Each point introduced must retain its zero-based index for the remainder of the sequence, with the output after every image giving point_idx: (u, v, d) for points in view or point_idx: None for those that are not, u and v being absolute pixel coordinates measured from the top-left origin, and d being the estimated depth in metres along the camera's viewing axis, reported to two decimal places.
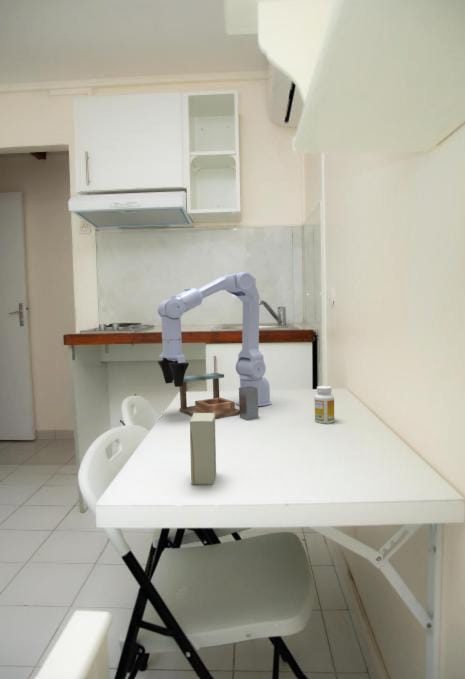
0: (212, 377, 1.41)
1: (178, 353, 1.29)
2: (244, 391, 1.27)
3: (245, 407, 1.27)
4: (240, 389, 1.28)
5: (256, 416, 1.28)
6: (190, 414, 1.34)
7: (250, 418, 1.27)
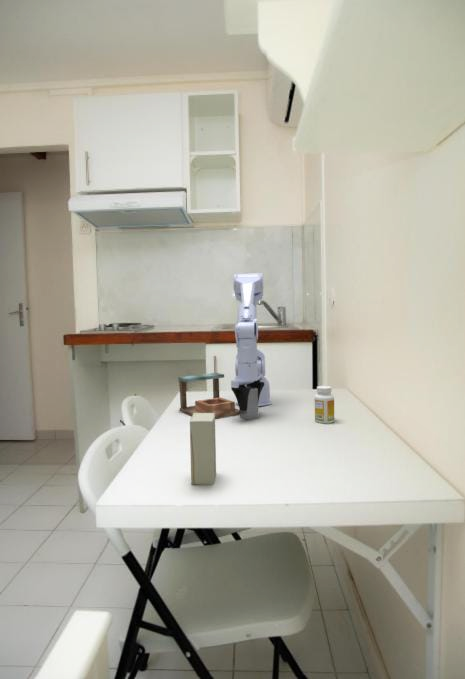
0: (212, 377, 1.41)
1: (245, 377, 1.26)
2: None
3: None
4: None
5: (256, 416, 1.28)
6: (190, 414, 1.34)
7: (250, 418, 1.27)
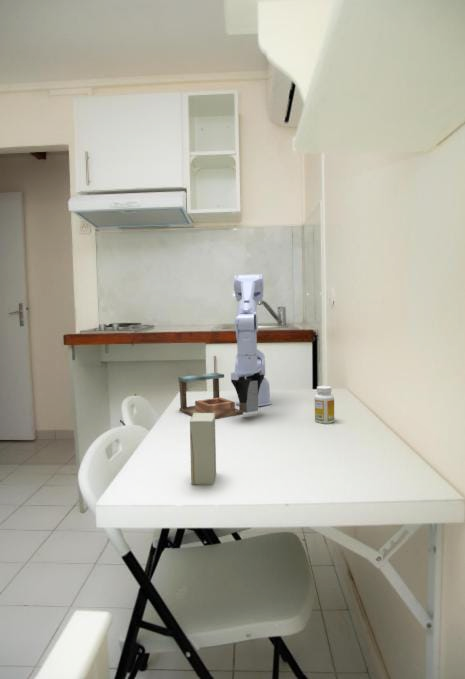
0: (212, 377, 1.41)
1: (244, 369, 1.25)
2: None
3: None
4: None
5: (256, 409, 1.28)
6: (190, 414, 1.34)
7: (250, 410, 1.27)
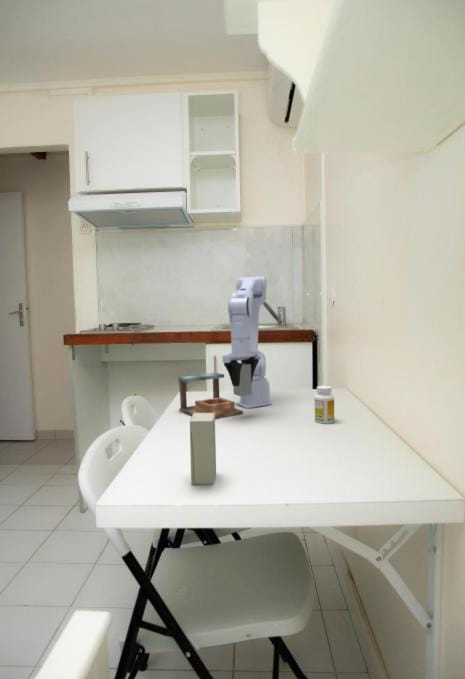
0: (212, 377, 1.41)
1: (237, 353, 1.26)
2: None
3: None
4: None
5: (249, 392, 1.28)
6: (190, 414, 1.34)
7: (243, 394, 1.27)
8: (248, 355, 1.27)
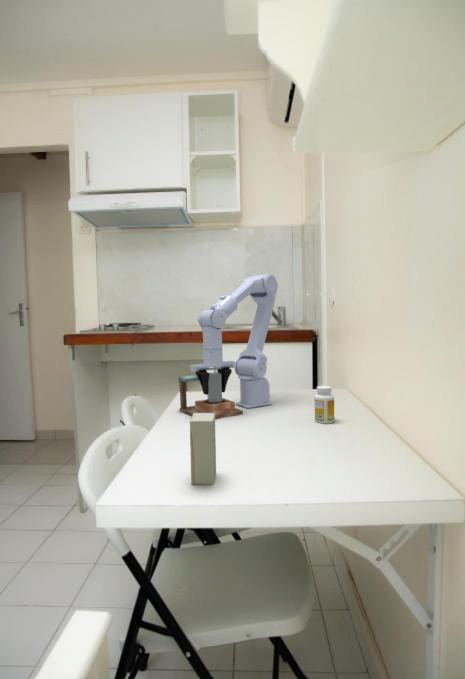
0: None
1: (206, 363, 1.32)
2: None
3: None
4: None
5: (220, 401, 1.33)
6: (190, 414, 1.34)
7: (213, 402, 1.32)
8: (216, 365, 1.31)
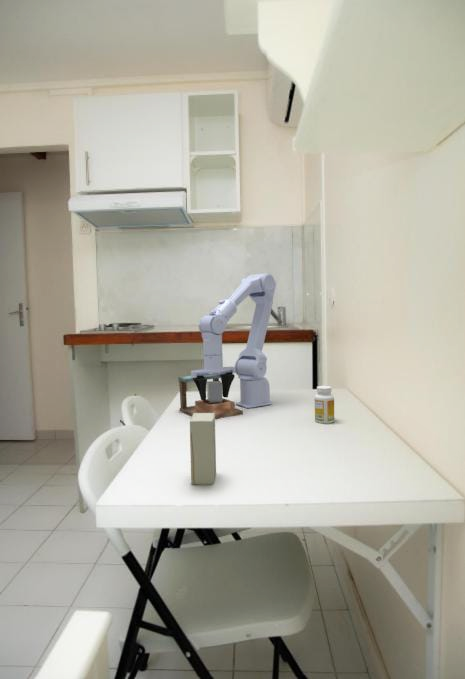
0: (212, 377, 1.41)
1: (206, 368, 1.32)
2: (208, 385, 1.32)
3: (209, 401, 1.32)
4: (207, 383, 1.35)
5: None
6: (190, 414, 1.34)
7: None
8: (217, 371, 1.31)
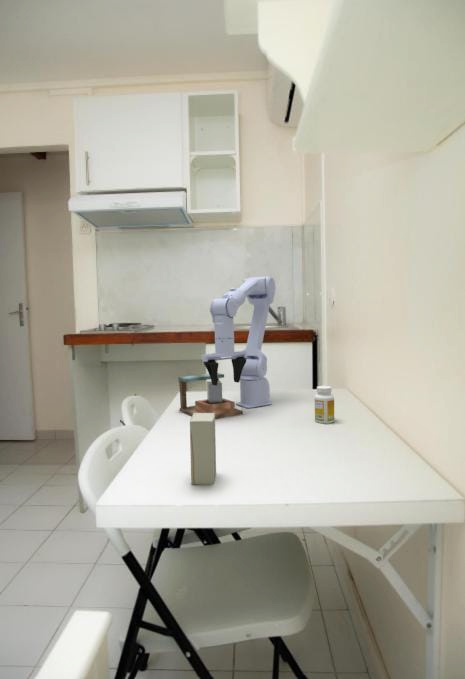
0: None
1: (218, 352, 1.29)
2: (208, 385, 1.32)
3: (209, 401, 1.32)
4: (207, 383, 1.35)
5: None
6: (190, 414, 1.34)
7: None
8: (228, 355, 1.28)
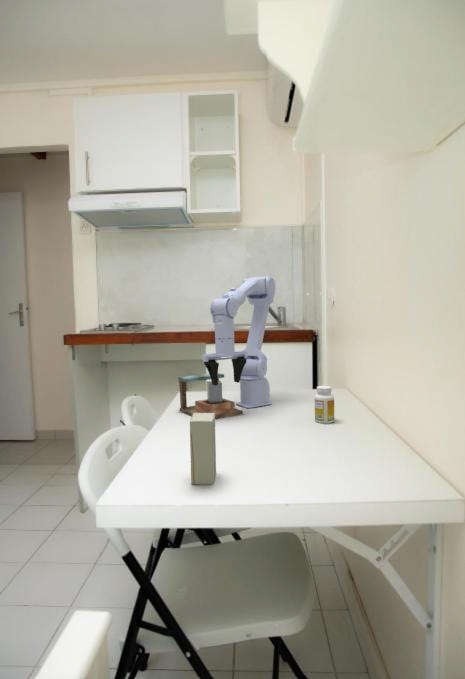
0: None
1: (218, 352, 1.29)
2: (208, 385, 1.32)
3: (209, 401, 1.32)
4: (207, 383, 1.35)
5: None
6: (190, 414, 1.34)
7: None
8: (229, 355, 1.28)
